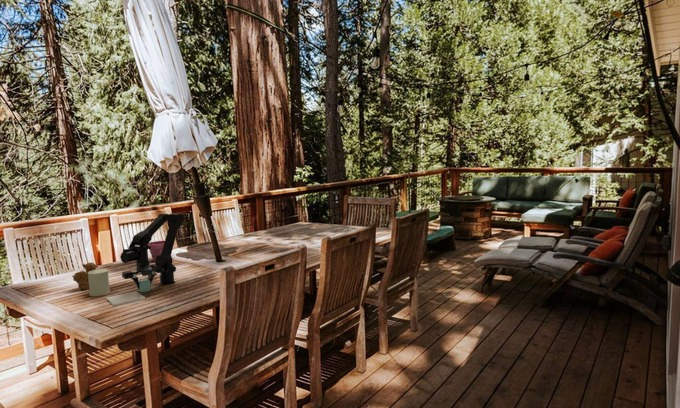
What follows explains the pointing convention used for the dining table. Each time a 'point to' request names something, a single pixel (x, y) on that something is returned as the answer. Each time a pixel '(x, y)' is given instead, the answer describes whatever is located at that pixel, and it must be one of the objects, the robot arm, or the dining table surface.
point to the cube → (144, 285)
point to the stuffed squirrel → (84, 275)
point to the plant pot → (156, 248)
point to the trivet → (125, 298)
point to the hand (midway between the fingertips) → (144, 288)
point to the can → (98, 282)
